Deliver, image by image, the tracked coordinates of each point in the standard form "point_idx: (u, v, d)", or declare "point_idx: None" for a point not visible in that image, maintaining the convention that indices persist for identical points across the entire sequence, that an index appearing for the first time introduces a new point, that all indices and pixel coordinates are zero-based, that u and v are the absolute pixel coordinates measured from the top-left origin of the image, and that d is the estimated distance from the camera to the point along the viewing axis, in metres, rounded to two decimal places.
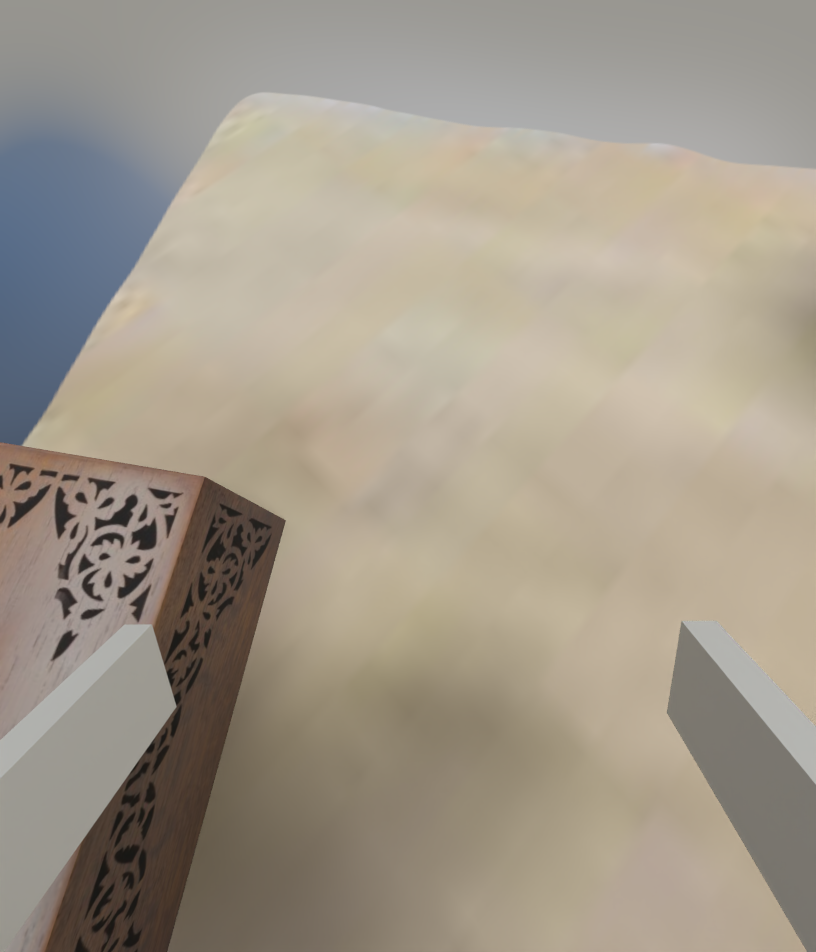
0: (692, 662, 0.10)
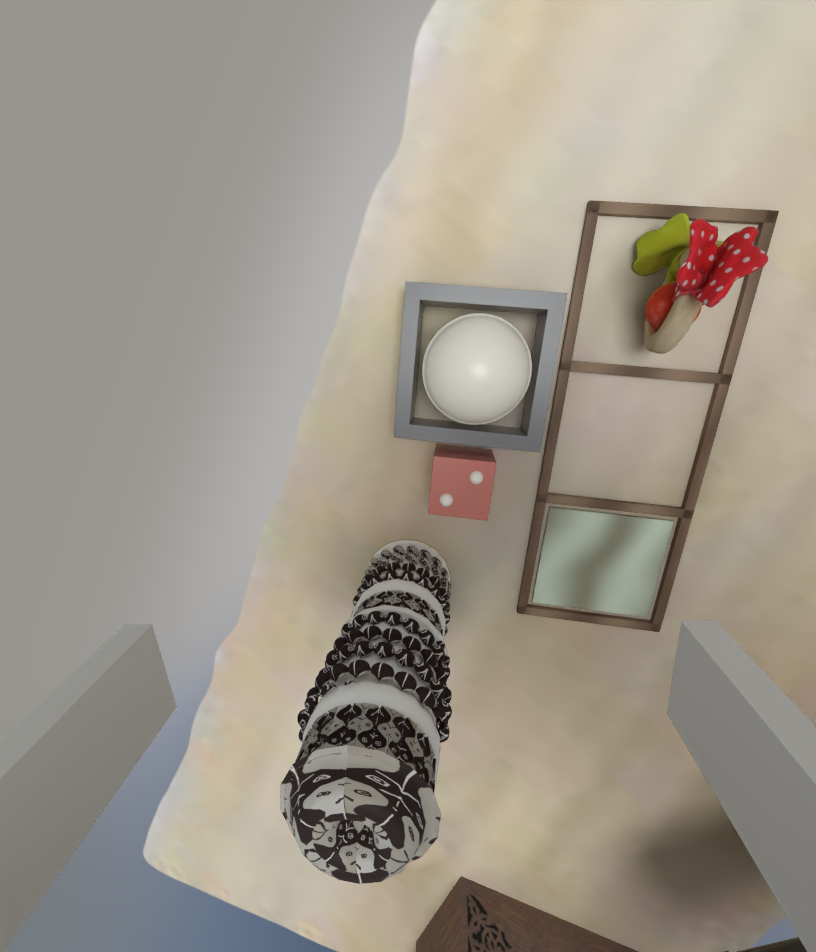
0: (692, 662, 0.10)
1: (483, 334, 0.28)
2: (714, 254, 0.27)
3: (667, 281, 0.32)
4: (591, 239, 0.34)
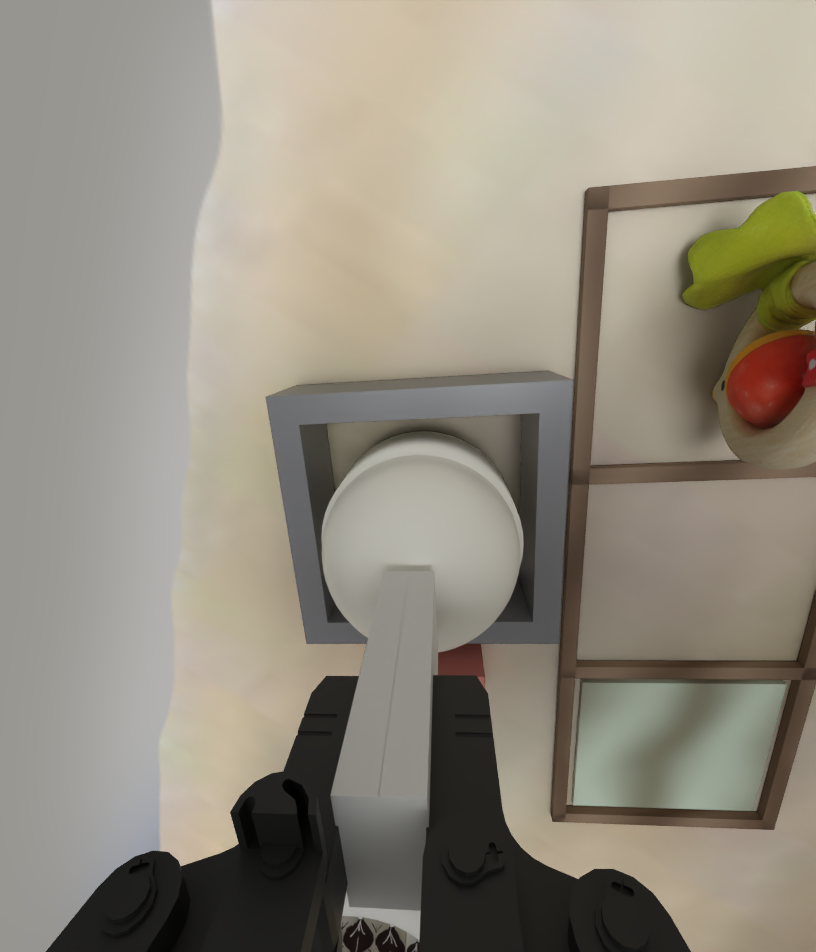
0: None
1: (412, 523, 0.13)
2: None
3: (760, 323, 0.17)
4: (601, 259, 0.18)
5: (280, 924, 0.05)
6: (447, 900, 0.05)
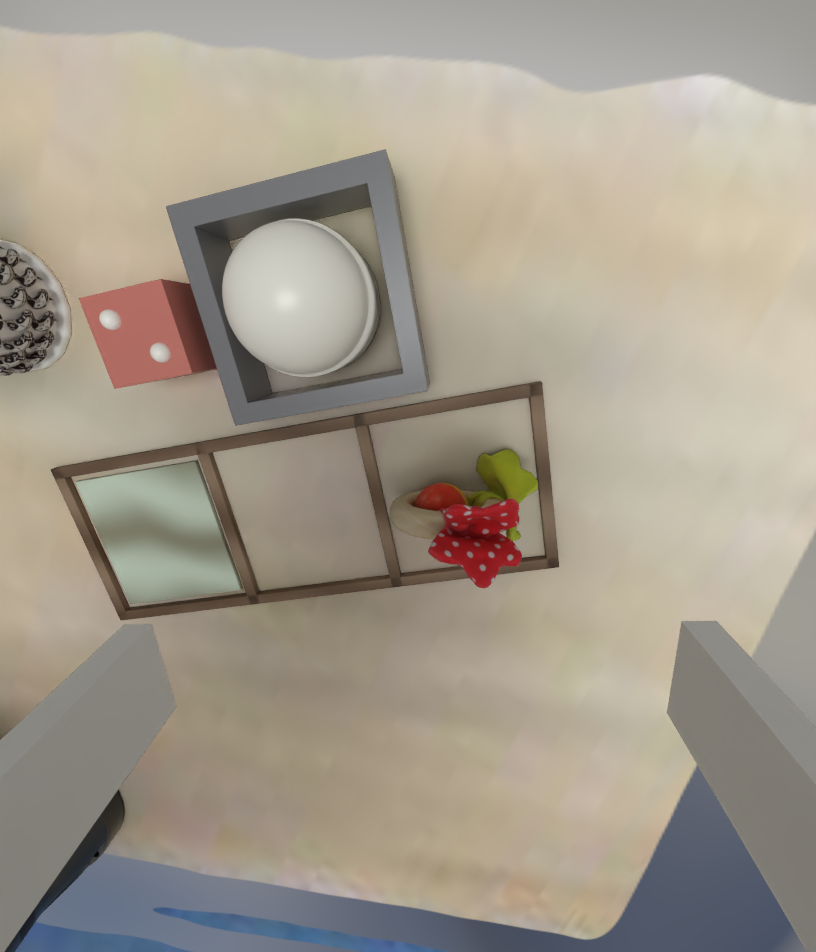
0: (692, 662, 0.10)
1: (328, 288, 0.20)
2: (489, 533, 0.23)
3: (471, 494, 0.29)
4: (501, 399, 0.28)
5: None
6: None
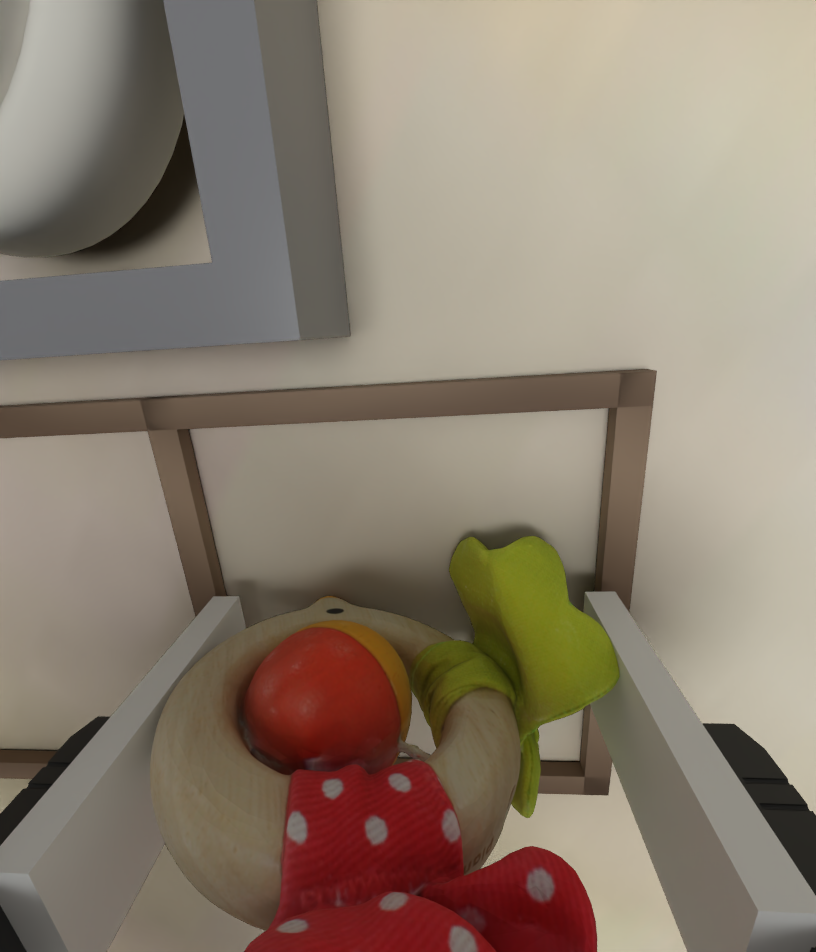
0: None
1: None
2: None
3: (425, 648, 0.11)
4: (537, 405, 0.10)
5: None
6: None
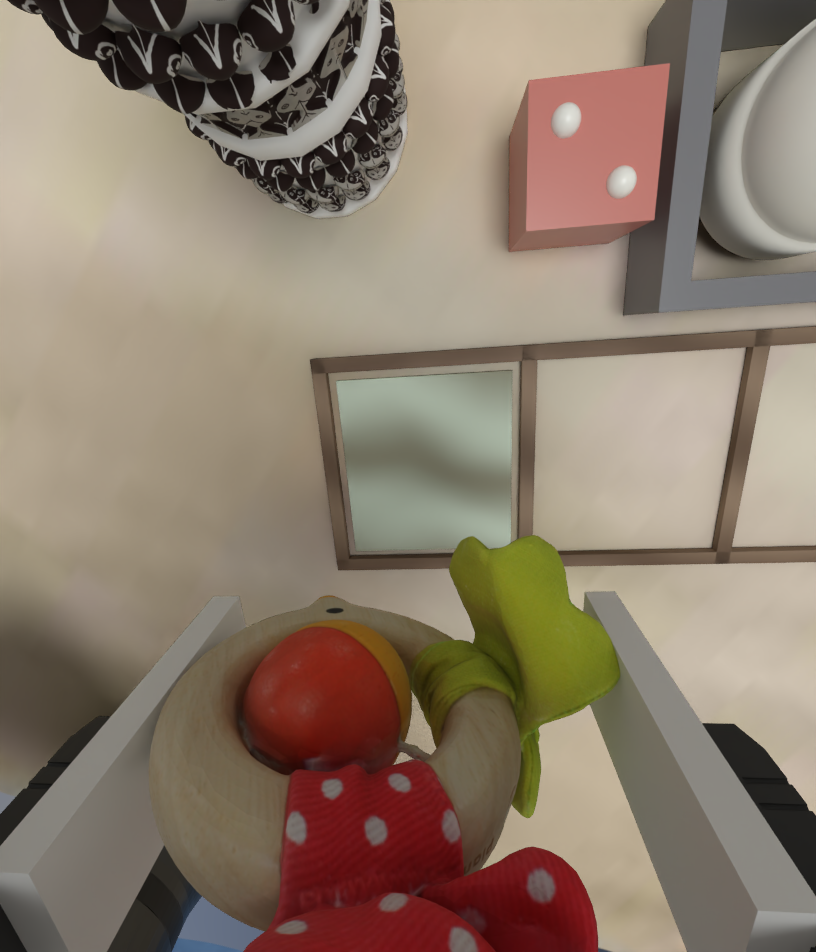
0: None
1: None
2: None
3: (425, 648, 0.11)
4: None
5: None
6: None
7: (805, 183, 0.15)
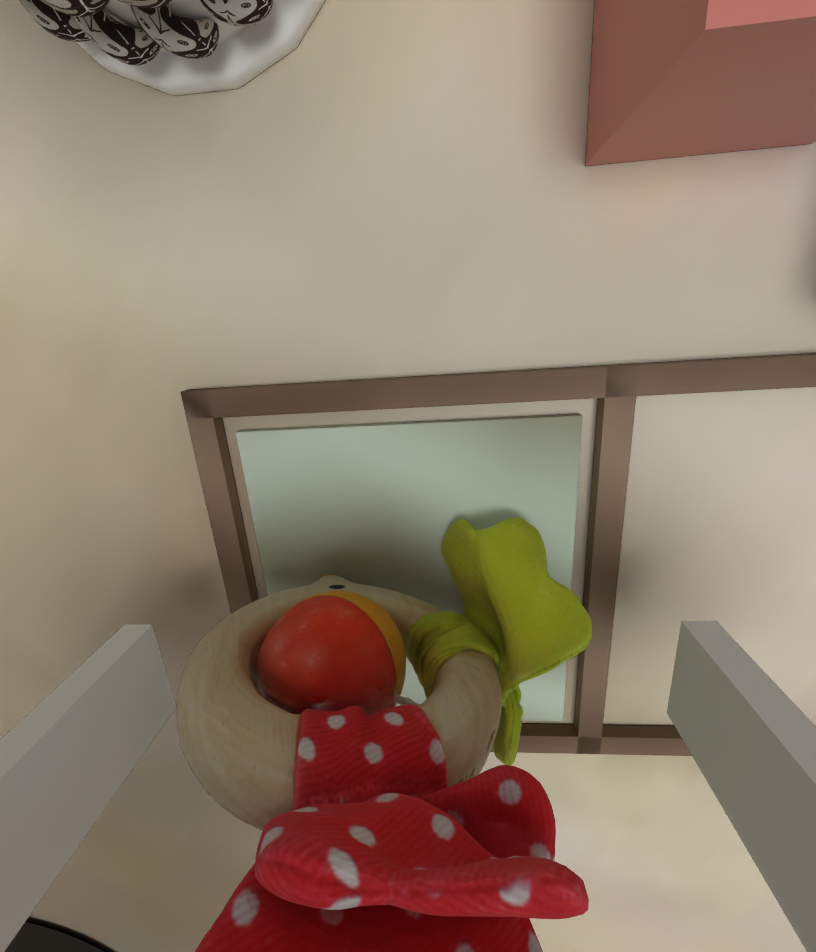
0: (692, 662, 0.10)
1: None
2: None
3: (419, 618, 0.12)
4: None
5: None
6: None
7: None
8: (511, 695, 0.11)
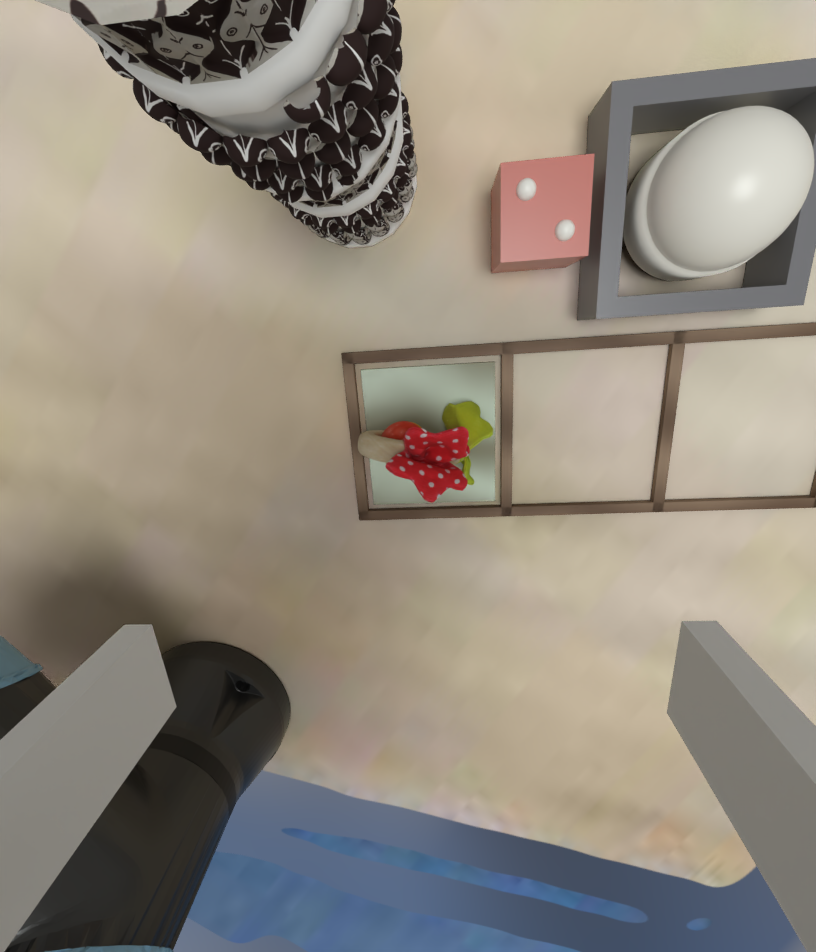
0: (692, 662, 0.10)
1: (809, 174, 0.21)
2: (442, 460, 0.26)
3: None
4: None
5: None
6: None
7: (682, 234, 0.23)
8: (466, 457, 0.31)
